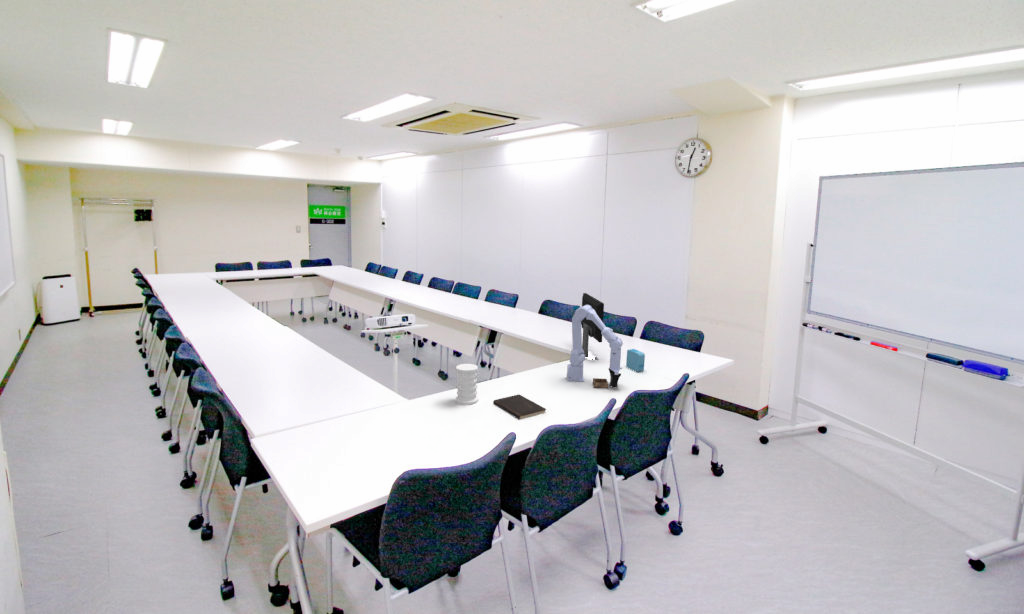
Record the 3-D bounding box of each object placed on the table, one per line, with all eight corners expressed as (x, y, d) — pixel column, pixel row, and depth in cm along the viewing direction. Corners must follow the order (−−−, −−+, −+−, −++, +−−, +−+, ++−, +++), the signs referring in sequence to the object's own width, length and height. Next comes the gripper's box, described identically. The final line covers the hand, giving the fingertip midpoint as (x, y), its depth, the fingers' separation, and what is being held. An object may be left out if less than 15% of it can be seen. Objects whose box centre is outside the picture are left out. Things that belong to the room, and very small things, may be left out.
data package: (643, 372, 302) (645, 353, 300) (637, 372, 300) (639, 354, 298) (631, 366, 313) (632, 348, 310) (625, 367, 311) (627, 349, 309)
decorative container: (478, 396, 257) (479, 363, 253) (477, 405, 245) (477, 370, 242) (456, 396, 257) (456, 363, 253) (454, 404, 245) (454, 370, 242)
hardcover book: (519, 398, 257) (519, 394, 256) (546, 413, 238) (546, 409, 238) (493, 404, 248) (493, 400, 247) (519, 420, 229) (519, 416, 229)
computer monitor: (604, 364, 315) (607, 303, 308) (591, 364, 314) (594, 303, 307) (586, 347, 355) (588, 292, 348) (574, 347, 354) (577, 293, 347)
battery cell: (610, 387, 274) (611, 375, 273) (609, 385, 278) (610, 373, 277) (617, 387, 274) (618, 375, 272) (616, 385, 278) (617, 373, 276)
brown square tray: (594, 387, 273) (594, 382, 272) (592, 383, 280) (592, 378, 279) (607, 388, 272) (608, 383, 272) (606, 383, 280) (606, 378, 279)
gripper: (624, 364, 266) (623, 387, 268) (620, 356, 280) (618, 379, 282) (611, 363, 266) (610, 387, 268) (607, 355, 280) (606, 378, 283)
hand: (613, 383), depth 275 cm, fingers open, 6 cm apart
